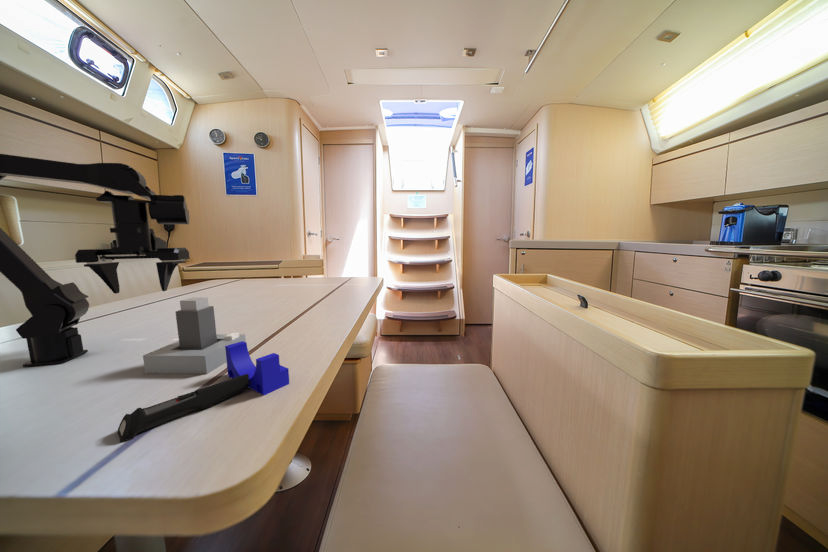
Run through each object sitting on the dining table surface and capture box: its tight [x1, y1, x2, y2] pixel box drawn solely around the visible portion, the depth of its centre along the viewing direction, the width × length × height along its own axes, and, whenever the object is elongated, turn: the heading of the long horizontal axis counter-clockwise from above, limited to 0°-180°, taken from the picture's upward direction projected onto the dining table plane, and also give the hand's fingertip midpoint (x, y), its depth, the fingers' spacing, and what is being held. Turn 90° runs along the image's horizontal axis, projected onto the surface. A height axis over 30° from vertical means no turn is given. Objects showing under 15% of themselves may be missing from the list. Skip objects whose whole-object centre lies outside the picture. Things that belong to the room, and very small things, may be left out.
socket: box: [142, 332, 247, 375], centre depth 60 cm, size 12×12×4 cm
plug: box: [175, 296, 217, 350], centre depth 59 cm, size 4×4×13 cm
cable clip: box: [225, 341, 290, 396], centre depth 51 cm, size 12×4×6 cm, turn 56°
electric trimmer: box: [117, 374, 249, 443], centre depth 42 cm, size 4×16×3 cm, turn 141°
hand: (141, 292), depth 67 cm, fingers open, 9 cm apart
